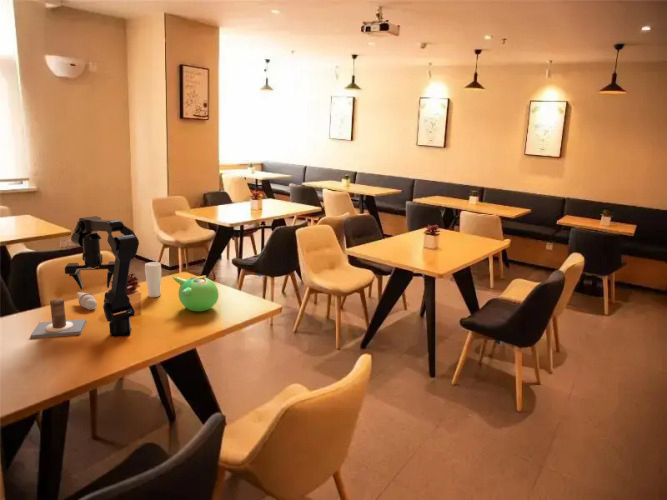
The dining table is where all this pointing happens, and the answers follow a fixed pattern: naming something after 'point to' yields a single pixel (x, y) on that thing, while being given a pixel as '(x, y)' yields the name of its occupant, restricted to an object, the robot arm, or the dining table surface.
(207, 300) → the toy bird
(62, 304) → the pepper mill
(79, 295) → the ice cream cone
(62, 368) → the dining table surface
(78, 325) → the serving board
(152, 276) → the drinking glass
